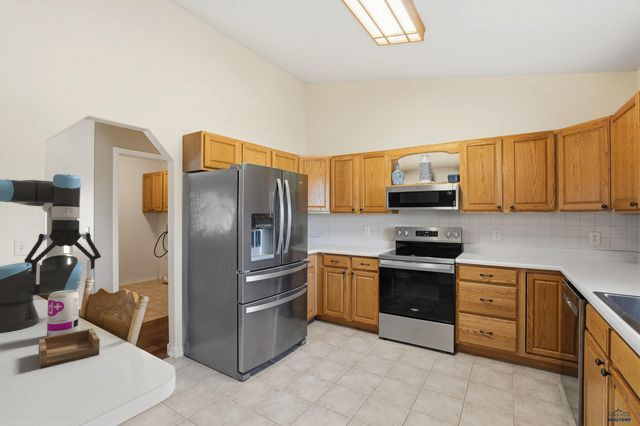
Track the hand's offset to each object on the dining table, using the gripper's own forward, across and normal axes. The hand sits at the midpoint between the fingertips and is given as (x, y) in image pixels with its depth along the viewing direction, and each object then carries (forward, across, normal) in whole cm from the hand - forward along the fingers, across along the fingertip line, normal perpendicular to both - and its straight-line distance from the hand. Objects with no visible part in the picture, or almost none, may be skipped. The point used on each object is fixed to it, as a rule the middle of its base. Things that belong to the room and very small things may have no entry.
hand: (64, 281), depth 108 cm
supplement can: (+19, 0, 0) cm, 19 cm away
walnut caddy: (+19, 0, -20) cm, 27 cm away
